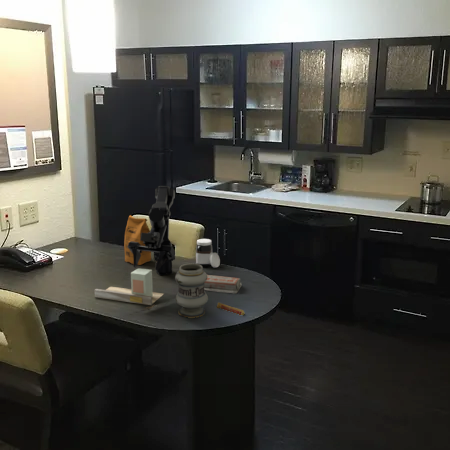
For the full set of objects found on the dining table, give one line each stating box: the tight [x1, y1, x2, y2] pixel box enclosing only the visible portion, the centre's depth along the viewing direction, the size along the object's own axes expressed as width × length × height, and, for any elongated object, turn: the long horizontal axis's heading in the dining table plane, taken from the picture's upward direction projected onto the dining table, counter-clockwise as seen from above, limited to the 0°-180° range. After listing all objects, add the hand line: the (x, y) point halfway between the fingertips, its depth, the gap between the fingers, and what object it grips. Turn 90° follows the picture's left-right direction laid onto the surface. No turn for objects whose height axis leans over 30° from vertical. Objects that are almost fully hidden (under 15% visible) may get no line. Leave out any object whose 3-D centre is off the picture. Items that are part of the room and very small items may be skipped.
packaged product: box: [204, 274, 242, 295], centre depth 220 cm, size 18×5×10 cm
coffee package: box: [123, 214, 152, 266], centre depth 250 cm, size 10×12×22 cm
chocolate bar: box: [216, 302, 246, 316], centre depth 197 cm, size 3×12×2 cm, turn 52°
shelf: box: [94, 286, 164, 309], centre depth 207 cm, size 12×24×4 cm, turn 72°
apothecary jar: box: [174, 262, 209, 319], centre depth 194 cm, size 12×12×18 cm
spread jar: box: [195, 238, 221, 269], centre depth 247 cm, size 12×11×12 cm
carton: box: [130, 267, 154, 297], centre depth 203 cm, size 6×6×11 cm
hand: (145, 268), depth 205 cm, fingers open, 9 cm apart
